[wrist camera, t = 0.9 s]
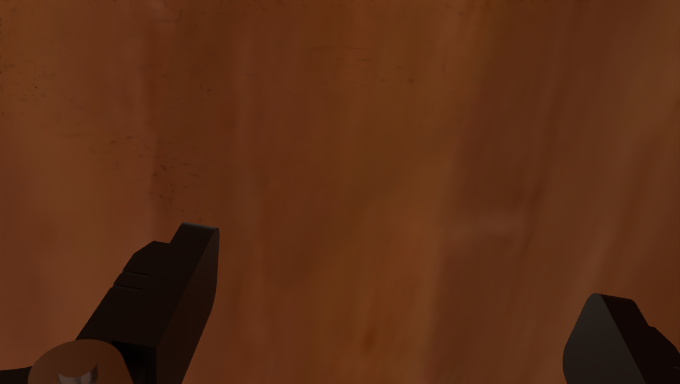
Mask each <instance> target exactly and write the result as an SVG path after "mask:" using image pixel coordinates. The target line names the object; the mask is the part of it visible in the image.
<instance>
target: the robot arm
mask: <svg viewBox="0 0 680 384" xmlns="http://www.w3.org/2000/svg"><path fill="white" fill-rule="evenodd" d="M218 253H219V228H217V227H211V226H205V225H199V224H193V223H187V222H183V223H182V224H181V225H180V227H179V229H178V230H177V232H176V234H175V235H174V237H173V239H172V240H171V242H170V243H163V242H158V241H153V242H151V243H149V244H148V245H146V246H145V247H143V248H142V249H140V250H139V251H137V252H135V253H134V254H133V256H132V257H131V259H130V260H129V261H128V263H127V264H126V266H125V267H124V269H123V271H122V274H121V273H120V275H119V276H118V278H117V279H116V281H115V282H114V284H113V287H112V288H110V289H109V291H108V292H107V294H106V295H105V297H104V298H103V300H102V301H101V303H100V304H99V306H98V307H97V309H96V310H95V311H94V313H93V314H92V316H91V317H90V319H89V320H88V322H87V323H86V325H85V326H84V328H83V329H82V331H81V332H80V333H79V335H78V336H77V338H76V339H75V340H74V341H70V342H66V343H63V344H60V345H58V346H56V347H54V348H52V349H50V350H49V351H47V352H46V353H44V354H43V355H42V356H41V357H40V358H39V359H38V360H37V361H36V362H35V363H34V365H33V366H31V367H26V368H20V369H12V370H1V371H0V384H182V381H183V379H184V376H185V374H186V371H187V369H188V367H189V364H190V362H191V359H192V357H193V354H194V352H195V349H196V347H197V345H198V342H199V340H200V337H201V335H202V332H203V330H204V328H205V325H206V323H207V320H208V318H209V315H210V313H211V310H212V306H213V303H214V298H215V293H216V285H217V269H218ZM563 372H564V376H565V379H566V381H567V384H680V354H679V352H678V350H677V349H676V347H675V346H674V345H673V344H672V343H671V342H670V341H669V340H668V339H666V338H665V337H664V336H663V335H662V334H661V333H660V332H659V331H658V330H657V329H656V328H655V327H650V326H648V324H647V322H646V320H645V319H644V317H643V315H642V314H641V312H640V310H639V308H638V307H637V305H636V303H635V302H634V301H633V300H631V299H627V298H621V297H615V296H609V295H603V294H597V293H594V294H592V295H591V296H590V297H589V298H588V299H587V301H586V303H585V305H584V307H583V309H582V312H581V314H580V316H579V318H578V320H577V322H576V324H575V326H574V328H573V331H572V333H571V335H570V337H569V339H568V341H567V343H566V346H565V349H564V353H563Z"/></svg>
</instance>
